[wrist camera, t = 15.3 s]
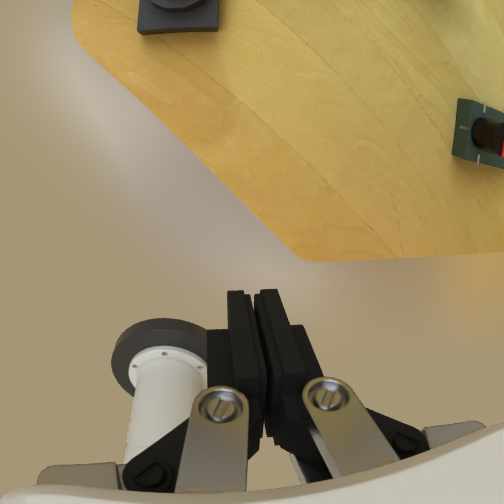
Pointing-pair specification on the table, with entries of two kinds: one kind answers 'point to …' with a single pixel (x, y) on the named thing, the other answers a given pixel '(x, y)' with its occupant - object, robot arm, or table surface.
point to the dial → (488, 135)
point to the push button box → (177, 16)
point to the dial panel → (462, 136)
